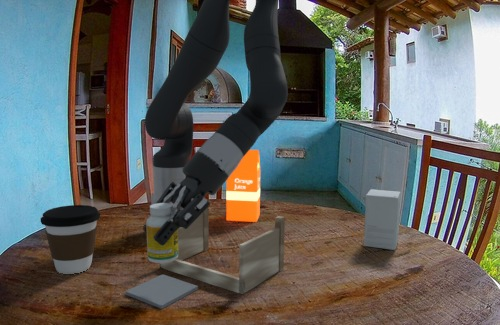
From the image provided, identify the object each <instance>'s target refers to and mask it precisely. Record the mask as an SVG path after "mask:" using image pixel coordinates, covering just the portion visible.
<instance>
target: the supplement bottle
mask: <svg viewBox="0 0 500 325" xmlns="http://www.w3.org/2000/svg"><path fill="white" fill-rule="evenodd" d="M172 212H173V204H170V203H157V204H153V205H151V204H150V205H149V214H150V216H149V217H148V218H147V219H146V223H145V224H146V227H147V233H146V248H147V253H146V254H147V259H148V260H149V262H152V263H154V264H160V263H168V262H172V261H174V260H176V259H177V258H178V229H177V230H176V231H175V232H174V234H173V235H172V236H171V237H170V239H169V240H168V241H167V242H166V243H165V245H160V244H159V243H158V242H157V241H155V240H154V235H155V234H156V233H157V232H158V231H159V229H160V228H161V227H162V226H163V225H164V223H165V222H166V221H168V219H169V217H170V216H171V214H172ZM168 222H169V221H168Z"/></svg>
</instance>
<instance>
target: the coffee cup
mask: <svg viewBox="0 0 500 325" xmlns="http://www.w3.org/2000/svg"><path fill="white" fill-rule="evenodd" d="M100 218H101V213H100V212H99V210H98V208H96V207H95V206H92V205H86V204H75V205H74V204H71V205H63V206H57V207H51V208H50V209H47V210H45V211H44V212H43V213H42V217H41V218H40V223H41V224H42V225H43V226H45V227H44V228H45V234H46V238H47V243H48V247H49V250H50V254H51V258H52V259H53V263H54V267H55V270H56V272H57V273H58V272H59V273H58V274H60V273H63V274H74V273H79V274H81V273H80V272H82V273H84V272H83V271H85V272H87V271H88V270H89V268H90V267H91V265H92V261H93V256H94V255H93V254H94V252H95V244H96V237H97V230H98V225H97V222H98V220H99V219H100ZM87 269H88V270H87ZM86 270H87V271H86ZM63 274H62V275H63ZM74 275H75V274H74Z"/></svg>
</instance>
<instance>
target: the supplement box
mask: <svg viewBox="0 0 500 325" xmlns="http://www.w3.org/2000/svg"><path fill="white" fill-rule="evenodd" d="M401 193H402V192H401V191H396V190H395V191H393V190H383V189H373V188H370V190H368V192H367V193H366V194H365V208H364V209H365V213H364V231H363V232H364V238H363V239H364V241H363V245H364V247H371V248H377V249H384V250H391V251H396V249H397V245H398V243H399V233H400V231H399V228H400V227H399V226H400V213H401V212H400V211H401V195H402V194H401Z"/></svg>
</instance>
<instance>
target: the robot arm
mask: <svg viewBox="0 0 500 325" xmlns="http://www.w3.org/2000/svg"><path fill="white" fill-rule="evenodd" d="M230 3H231V0H203V1H202V4H201V6H200V8H199V10H198V12H197V15H196V16H195V18H194V21H193V23H192V25H191V27H190V28H189V29H188V30H189V31H188V32H187V34H186V36H185V38H184V41H183V43H182V46H181V47H180V50H179V53H178V54H177V56H176V59H175V60H174V62H173V65H172V66H171V68H170V71H169V72H168V75H167V76H166V78H165V80H164V81H163V83H162V85H161V87H160V88H159V90H158V91H157V93H156V94H155V96H154V98H153V100H152V101H151V103H150V104H149V106H148V108H147V110H146V113H145V116H144V129H145V131H146V133H147V135H148V136H149V137H150V138H153V139H154V140H162V141H163V140H164V142H163V146H161V148H160V149H159V150H158V151H157V152H155V153H154V155H153V156H152V172H153V175H152V177H153V181H152V182H153V193H151V195H150V203H151V204H150V206H151V205H153V204H157V203H170V204H173V212H172V214H171V216H170V217H169V219H168V221H169V222H168V221H166V222H165V223H164V225H163V226H162V227H161V228H160V229H159V231H158V232H157V233H156V234H155V235H154V240H155V241H157V242H158V243H159V244H160V245H165V243H166V242H167V241H168V240H169V239H170V237H171V236H172V235H173V234H174V232H175V231H176V230H177V229H181V228H182V227H183V228H185V229H187V228H188V227H189V226H190V225H191V224H192V223H193V222H194V221H195V220H196V219H197V218H198V217H199V216H200V215H201V214H202V213H203V212H204V211H205V210H206V208H207V207H208V208H209V206H210V205H211V203H210V202H209V200H207V198H206V195H207V194H208V195H210V196H215V195H216V194H217V192H218V191H220V189H221V188H222V187H223V186H224V184H225V183H226V182H227V179H228V178H229V177H230V175H231V174H232V173H233V172H234V170H235V169H236V168H237V166H238V165H239V163H240V162H241V160H242V158H243V157H244V156H245V155H246V153H247V152H248V151H249V150H251V149H252V147H253V146H254V145H255V144H256V142H257V140H258V139H259V137H260V136H261V135H263V134H264V133H265V132H266V131H267V130H268V129H269V128H270V127H271V126H272V125H273V124H274V122H275V121H276V120H277V119H278V118H279V117H280V115H281V114H282V111H283V110H284V107H285V105H286V102H287V101H288V96H289V93H288V90H289V89H288V81H287V77H286V74H285V69H284V66H283V63H282V61H281V60H282V56H281V46H280V38H279V27H278V11H279V0H255V5H254V7H253V10H252V12H251V13H250V15H249V16H248V19H247V21H246V23H245V26H244V31H243V47H244V58H245V64H246V68H247V70H248V72H249V79H250V80H249V81H250V92H249V96H248V98H247V100H246V101H245V103H244V104H243V105H242V106H241V107H240V109H238V111H237V112H236V113H232V114H230V115H229V116H228V117H227V118H226V119H225V120H224V121H223V122H222V124H221V125H220V126H219V127H218V128H217V129H216V131H215V132H214V133H213V134H212V135H211V136H209V138H208V139H207V140H205V142H204V143H202V145H201V146H200V147H199V148H198V150H196V152H195V153H194V154H193V149H194V148H193V147H194V146H193V144H194V117H193V113H192V110H191V109H190V107H189V106H188V105H187V104H186V103H185V102H186V100H187V98H188V97H189V95H191V93H192V92H194V90H196V88H197V87H199V86H200V85H201V84H202V83H203V82H204V81H205V80H206V79H208V77H210V76H211V74H212V73H213V72H214V71H215V70H216V69H217V67H218V65H219V64H220V62H221V60H222V58H223V56H224V54H225V52H226V51H227V48H228V47H229V43H230V34H231V33H230V31H231V30H230V29H231V28H230ZM192 154H193V156H192ZM187 218H189V219H188V220H186V219H187ZM142 230H143V231H144V232H145V233H146V234H147V227H146V223H145V224H144V225H143V227H142Z"/></svg>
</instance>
